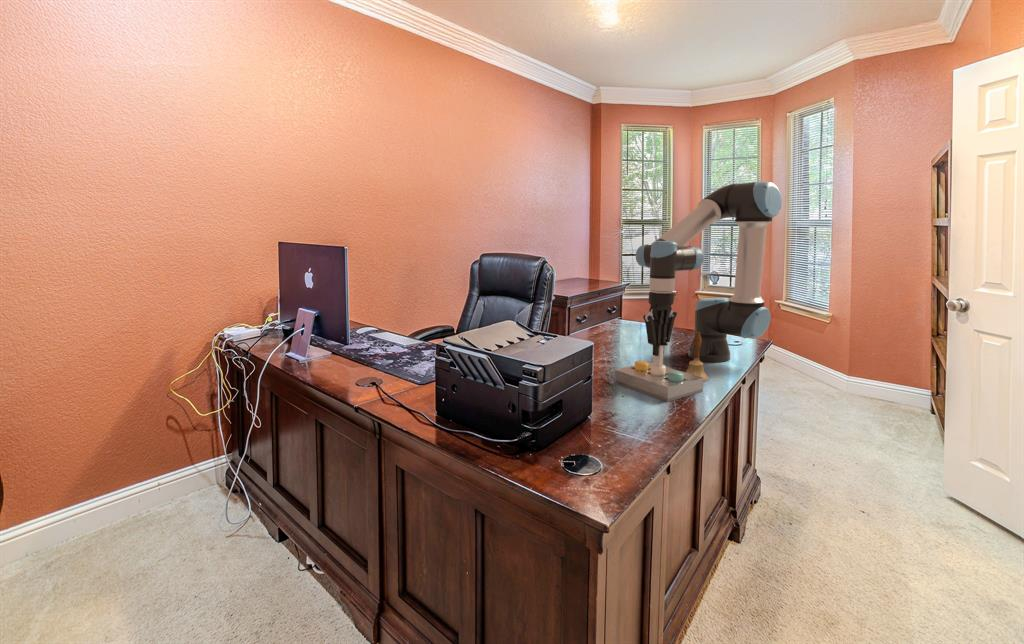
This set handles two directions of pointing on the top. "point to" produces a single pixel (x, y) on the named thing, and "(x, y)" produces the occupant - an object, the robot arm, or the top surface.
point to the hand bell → (697, 359)
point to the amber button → (641, 366)
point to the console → (658, 383)
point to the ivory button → (658, 370)
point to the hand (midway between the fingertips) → (657, 365)
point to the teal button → (675, 376)
